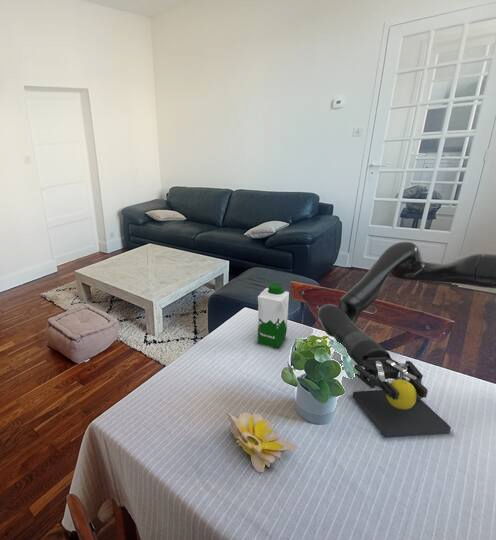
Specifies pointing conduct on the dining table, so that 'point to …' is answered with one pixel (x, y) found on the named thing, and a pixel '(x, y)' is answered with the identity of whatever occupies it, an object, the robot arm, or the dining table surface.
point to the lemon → (403, 394)
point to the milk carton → (272, 316)
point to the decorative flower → (258, 439)
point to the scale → (400, 416)
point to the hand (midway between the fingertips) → (410, 395)
